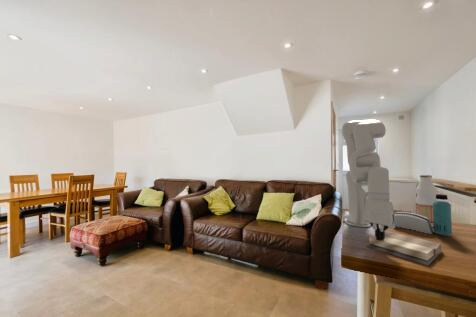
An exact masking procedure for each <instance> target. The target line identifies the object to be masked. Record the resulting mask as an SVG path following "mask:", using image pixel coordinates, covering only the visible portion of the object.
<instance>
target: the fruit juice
mask: <svg viewBox="0 0 476 317" xmlns="http://www.w3.org/2000/svg"><path fill="white" fill-rule="evenodd" d="M419 178H420V181H419V182H418V185H417V186H416V187H415V194H416V196H415V214H418V215H421V216H424V217H427V218H429V220H430V222H431V225H432V227H434V225H433V223H434V218H433V203H434V202H435V201H439V199H436V194H438V192H439V190H438V189H437V188H436V186H435V185H434V182H433V180H432V179H433V175H431V174H420V175H419Z"/></svg>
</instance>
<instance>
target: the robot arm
mask: <svg viewBox="0 0 476 317" xmlns="http://www.w3.org/2000/svg"><path fill="white" fill-rule="evenodd" d="M341 131H342V136H343V139H344V142H345V144H346V154H347V156H346V157H347V164H348V167H349V171H347V172H346V173H345V179H346V183H347V193H348V194H347V195H348V196H347V198H348V214H346V213H343V214H342V218H344V219H347V220H345V222H346V224H347V225H349V226H351V227H357V228H369V227H372V229H373V230H374V236H375V237H376V240H379V241H381V240H384V238H385V231H387V230H388V229H391V230H394V229H396V226H395V225H394V223H395V216H394V213H395V209H394V204H393V202H392V200H390V174H389V170H388V168H386V167H383V166H381V158H380V156H379V153H378V152H377V151H376V150H377V145H376V142H375V139H381V138H384V137H385V135H386V132H387V129H386V126H385V124H384V122H382V121H380V120H376V119H363V120H349V121H346V122H344V123H343V125H342V128H341ZM363 187H367V192H366V190H365V189H363Z"/></svg>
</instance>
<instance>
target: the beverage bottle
mask: <svg viewBox="0 0 476 317" xmlns="http://www.w3.org/2000/svg"><path fill="white" fill-rule="evenodd" d="M436 199H438V201H435V202H434V203H433V218H434V223H433V225H434V228H433V229H434V232H433V233H436V234H439V235H443V236H451V235H453V227H452V226H453V224H452V204H451V203H449V202H448V201H446V200H448V199H449V198H448V195H447V194H442V193H439V194H436Z"/></svg>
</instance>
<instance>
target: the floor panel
mask: <svg viewBox="0 0 476 317" xmlns="http://www.w3.org/2000/svg"><path fill="white" fill-rule="evenodd" d="M385 236H386V237H390V238H394V239H398V240H402V241H406V242H410V243H413V244H417V245H421V246H425V247H429V248H433V249H434V256H432V257H431V258H430V259H429V260H424V259H421V258H417V257H414V256H410V255H407V254H404V253H400V252H397V251H393V250H390V249H387V248H383V247H380V246H377V245H373V244H370V243H369V242H368V243H367V244H366V246H365V247H366V248H370V249H372V250H375V251H380V252H382V253H386V254H390V255H392V256H395V257H399V258H402V259H405V260H408V261H411V262H415V263H417V264H421V265H424V266H427V267H428V266H430V264H431V263H433V261H434V260H436V258H437V257H438V256H439V255H441V254H442V243H440V242H436V241H432V240H427V239H423V238H420V237H414V236H410V235H405V234H401V233H398V232H393V231H387V230H385Z"/></svg>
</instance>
